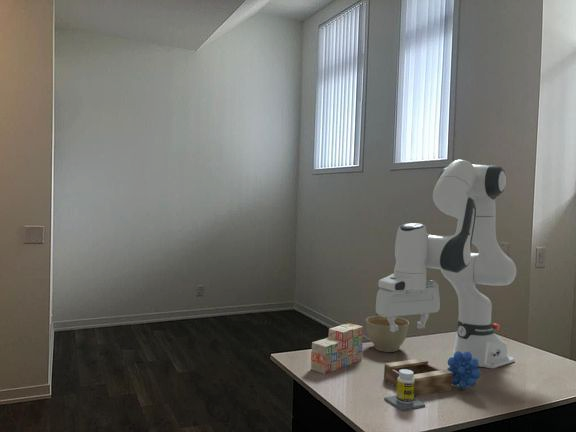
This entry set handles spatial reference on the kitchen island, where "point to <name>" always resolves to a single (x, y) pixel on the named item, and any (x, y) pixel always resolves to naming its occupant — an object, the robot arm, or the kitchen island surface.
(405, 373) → the supplement bottle
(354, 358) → the stack of blocks
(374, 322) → the planter bowl
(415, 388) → the crate
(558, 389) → the kitchen island surface
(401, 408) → the slate pad
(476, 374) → the grapes
